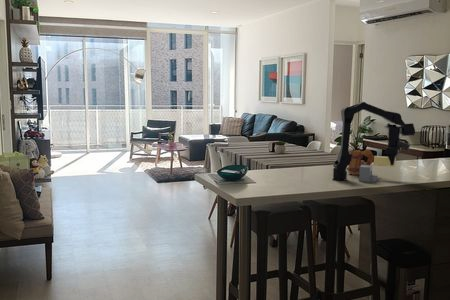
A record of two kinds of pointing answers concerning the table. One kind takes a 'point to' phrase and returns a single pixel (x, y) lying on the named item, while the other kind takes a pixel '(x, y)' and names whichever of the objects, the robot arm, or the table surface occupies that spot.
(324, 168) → the table surface
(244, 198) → the table surface
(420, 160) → the table surface
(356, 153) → the mug
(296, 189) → the table surface
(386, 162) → the pale yellow flat block
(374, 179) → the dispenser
